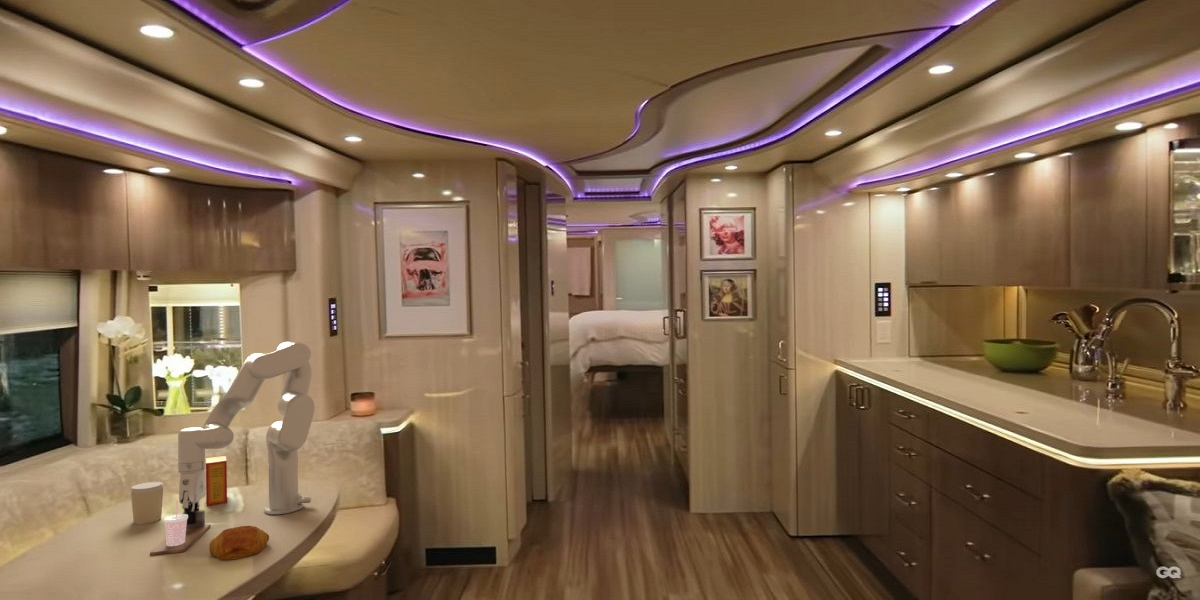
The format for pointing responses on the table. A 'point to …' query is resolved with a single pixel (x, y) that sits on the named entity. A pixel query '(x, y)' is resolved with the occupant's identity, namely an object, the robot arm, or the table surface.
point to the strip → (191, 535)
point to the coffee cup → (147, 502)
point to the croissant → (238, 542)
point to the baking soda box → (216, 480)
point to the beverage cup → (176, 528)
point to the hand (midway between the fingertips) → (191, 521)
